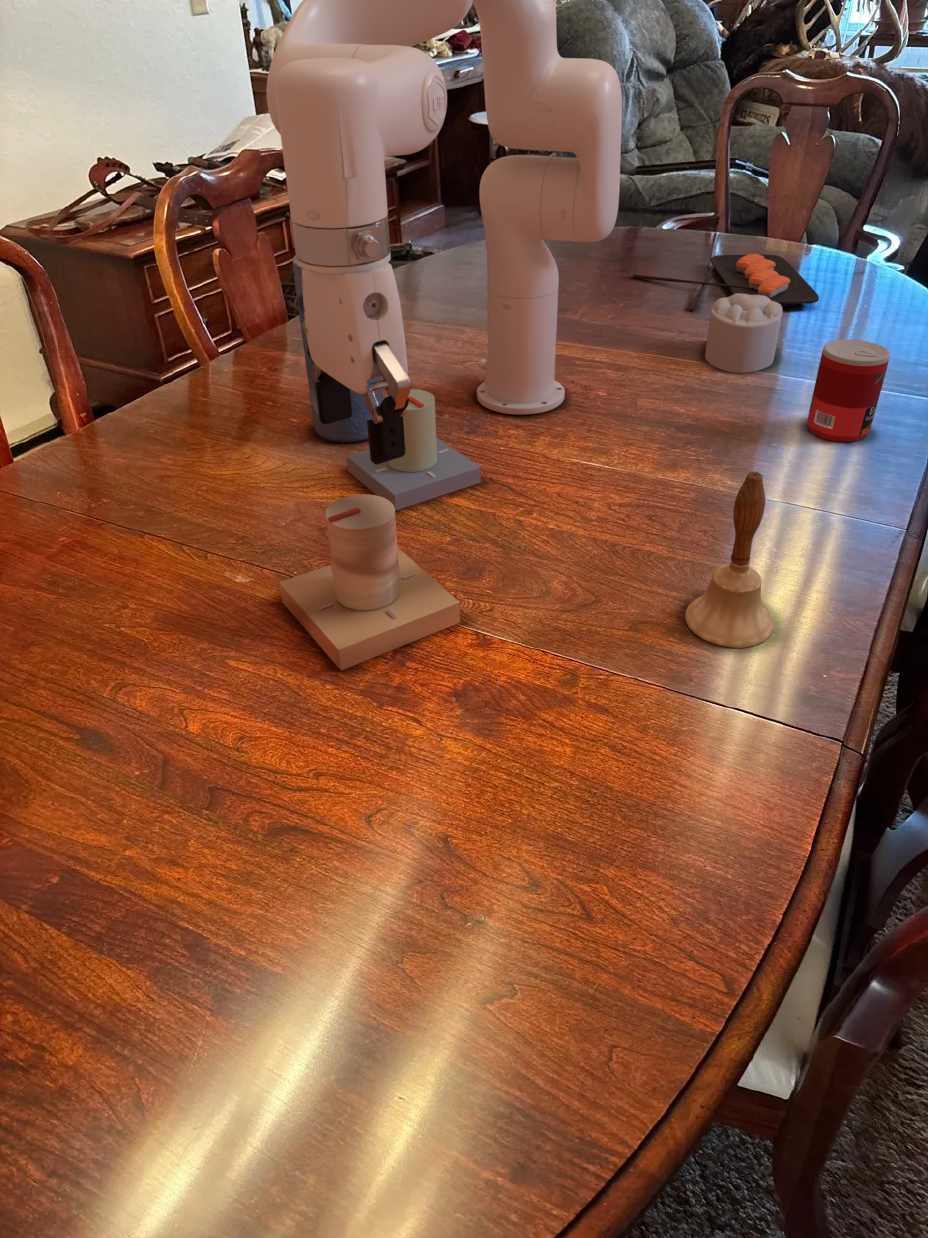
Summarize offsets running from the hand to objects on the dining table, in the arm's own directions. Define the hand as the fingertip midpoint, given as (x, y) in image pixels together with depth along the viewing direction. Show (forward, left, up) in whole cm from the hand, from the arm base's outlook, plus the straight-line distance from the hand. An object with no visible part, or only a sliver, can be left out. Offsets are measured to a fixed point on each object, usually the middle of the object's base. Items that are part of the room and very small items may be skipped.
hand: (361, 438), depth 83 cm
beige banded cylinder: (+2, -2, -15) cm, 15 cm away
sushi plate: (-52, +101, -18) cm, 115 cm away
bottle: (-37, +16, -18) cm, 44 cm away
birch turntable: (+2, -2, -17) cm, 18 cm away
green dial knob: (-20, +16, -15) cm, 30 cm away
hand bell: (+23, +26, -18) cm, 39 cm away
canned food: (+1, +69, -18) cm, 71 cm away
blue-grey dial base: (-20, +16, -17) cm, 31 cm away
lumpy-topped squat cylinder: (-25, +78, -18) cm, 84 cm away
